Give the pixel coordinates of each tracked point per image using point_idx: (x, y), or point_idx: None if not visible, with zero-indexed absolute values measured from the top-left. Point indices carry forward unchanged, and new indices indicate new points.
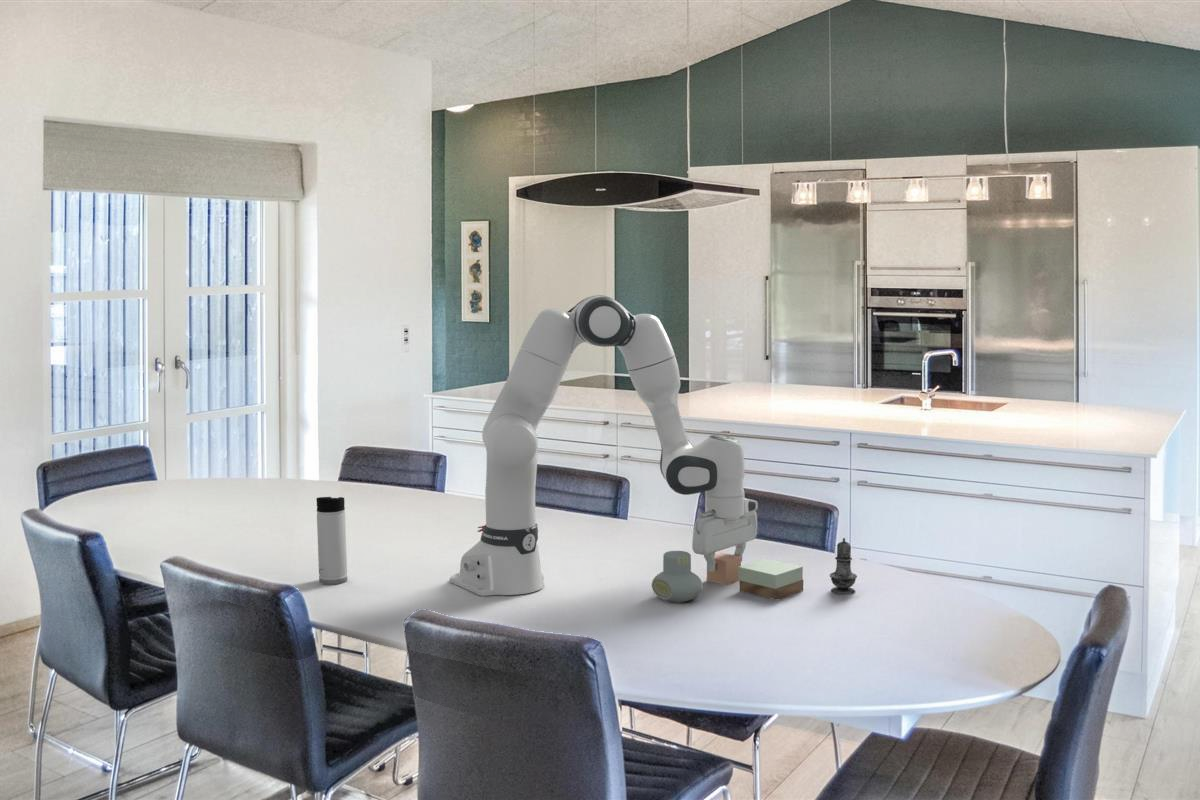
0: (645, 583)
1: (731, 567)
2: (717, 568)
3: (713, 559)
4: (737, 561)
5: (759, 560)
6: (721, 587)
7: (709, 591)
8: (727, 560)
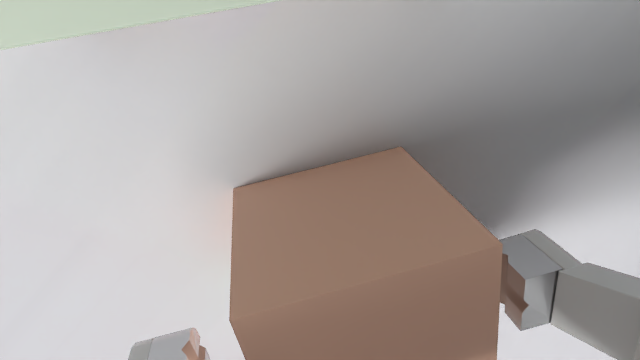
0: None
1: (382, 219)
2: None
3: (636, 289)
4: (292, 271)
5: (116, 28)
6: (471, 115)
7: (591, 87)
8: (469, 262)
